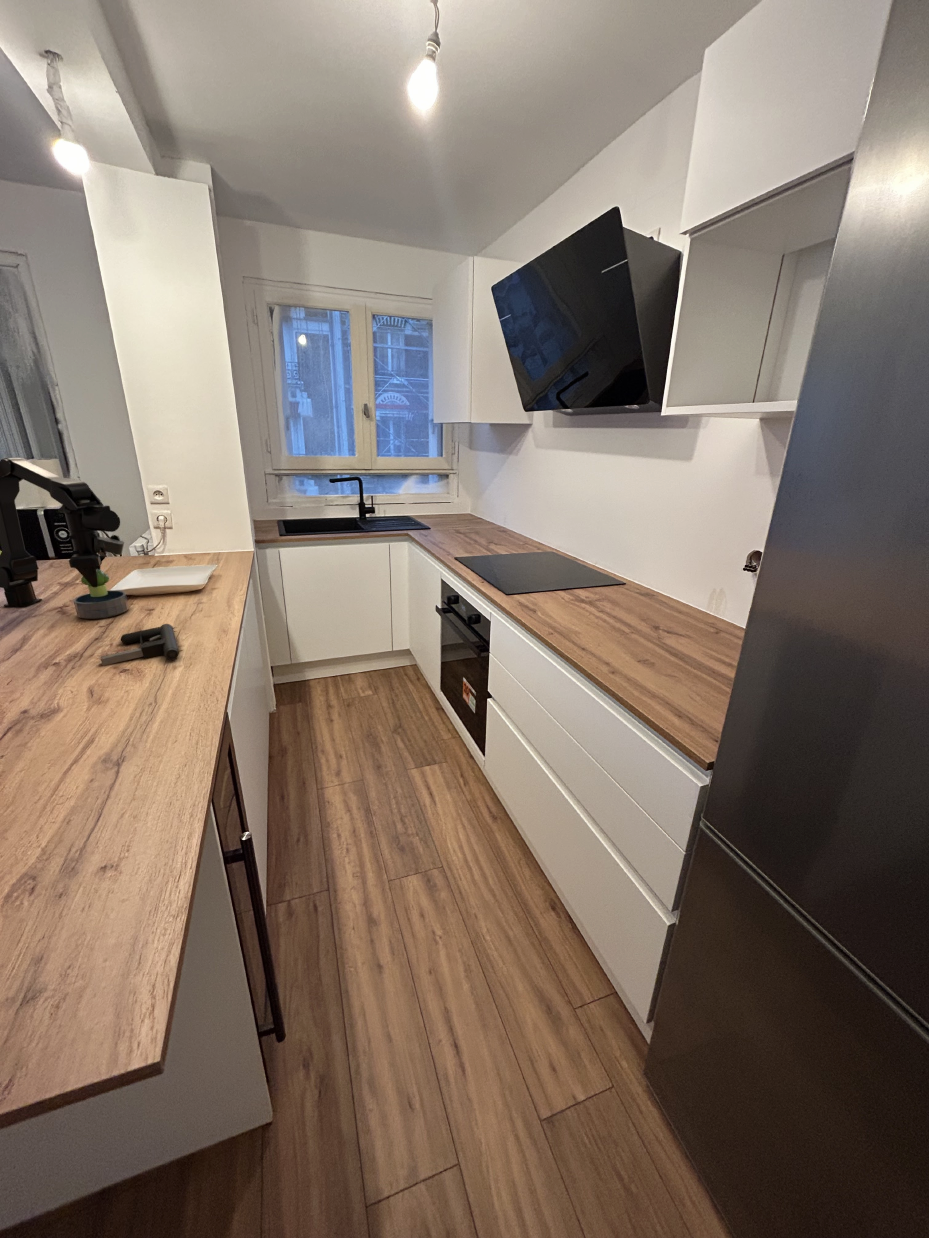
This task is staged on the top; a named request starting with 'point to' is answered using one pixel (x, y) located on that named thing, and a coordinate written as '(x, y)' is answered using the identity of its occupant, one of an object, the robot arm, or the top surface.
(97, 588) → the broccoli
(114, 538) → the robot arm
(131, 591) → the square plate
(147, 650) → the door handle
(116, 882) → the top surface
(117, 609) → the bowl
